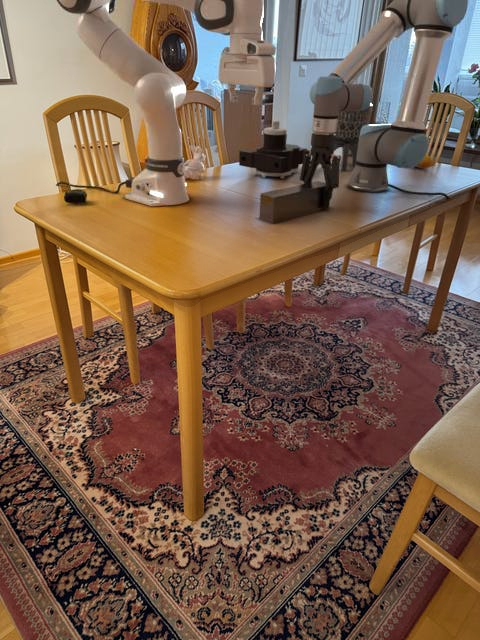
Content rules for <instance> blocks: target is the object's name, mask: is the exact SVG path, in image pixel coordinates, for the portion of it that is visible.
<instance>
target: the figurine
mask: <svg viewBox="0 0 480 640" xmlns="http://www.w3.org/2000/svg"><path fill="white" fill-rule="evenodd" d="M189 149H190V151H191V152H192V154H193V159H191V158H190V159H187V160H186V161H185V162H184V167H185V168H184V178H186V179H187V178H188V179H190V180H200V178H199V176H200V175H201V174H204V173H205V171H206V169H205V165H204V162H205V159H206V154H204V153H203V149H202V147H200V146H199V145H197V144H196V146H195V145H193V144H191V145H189Z"/></svg>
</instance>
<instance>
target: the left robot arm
mask: <svg viewBox="0 0 480 640" xmlns="http://www.w3.org/2000/svg"><path fill="white" fill-rule="evenodd" d="M140 1H143V2H147V3H155V4H162V5H163V4H164V5H171V6H175V7H178V8H182V9H183V10H185V11H188V12H190V13H192V14H194V17H195V20H196V22H197V24H198V25H199V26H200V27H201V28H202V29H204V31H205V30H206V31H207V32H210V33H215V34H221V35H223V36H229V46H226V47H224V48H223V49H222V51H221V53H220V58H219V64H218V81H219V84H222V85H227V87H226V88H227V91H228V93H229V102H231V103H238V102H239V95H237V93H236V89H237V86H245V87H254V92H255V93H254V96H253V97H251V105H252V106H260V104H261V97H262V95H263V94H264V92H265V91H264V89H265V88H272V87H273V86H274V84H275V80H276V60H275V57H274V56H275V55H276V51H277V49H276V45H274V44H272V43H270V42H269V41H266V40H265V39H263V38H264V37H263V33H264V32H263V26H262V23H263V20H264V19H263V18H264V15H265V14H264V13H265V12H264V10H265V7H264V5H265V2H264V1H265V0H140ZM116 2H117V0H56V3H58V5H59V7H61V8H62V9H63V10H64V11H66V12H67V13H69V14H73V15H79V16H78V19H77V21H76V31H77V34H78V36H79V38H80V39H81V41H82V42H83V43H84V45H85V46H86V47H87V48H88V49H89V50H90V52H91V53H92V54H93V55H94V56H95V57H96V58H97V59H98V60H99V61H101V63H102V64H103V65H105V67H107V68H108V69H109V70H110V71H111V72H112V73H113V74H114V75H116V76H117V77H118V78H119V79H120V80H121V81H123V82H125V83H127V84H129V85H130V86H132V87H133V88H134V91H133V92H134V93H133V94H134V99H135V101H136V103H137V105H138V107H139V108H140V111H141V114H142V115H141V116H142V118H143V122H144V126H145V131H146V137H147V149H148V157H146V158H144V159H142V164H145V167H144V169H143V170H142V171H141V172H140V173H138V174H137V175H136V176H135V177H130V178H128V179H125V181H122V182H120V183H119V184H118V186H117V189H116V190H115V191H112V190H109V189H108V188H105V187H102V186H98V185H97V186H96V185H80V184H79V185H78V184H73V183H68V182H66V181H59V182H57V183H56V184H55V186H56V187H58V186H59V185H65V186H69V187H71V188H77V189H97V190H102V191H104V192H107V193H111V194H118V193H120V190H121V187H122V186H123V185H125V188H129V189H131V191H129V192H128V193H126V194H125V196H124V198H125V199H126V200H128V201H129V200H130V201H132V202H135V203H139V204H143V205H147V206H149V207H160V206H175V205H182V204H184V203H187V202H189V200H190V197H189V194H188V191H187V182H186V180H185V177H184V168H185V167H184V164H185V158H184V156H183V155H184V154H183V135H182V130H181V128H180V125H179V121H178V116H177V111H176V109H177V108H179V107H181V105H182V104H183V103H184V101H185V99H186V96H187V86H186V83H185V82H184V80H183V79H182V77H180V76H179V75H177V74H176V73H175V72H174V71H172V70H171V69H170V68H169V67H167V66H166V65H165V64H164V63H162V61H160V60H159V59H157V58H156V57H155V56H153V55H152V54H150V53H149V52H147V50H145V49H144V48H143V47H142V46H141V45H140V44H139V43H138V42H136V40H135V39H133V38H132V37H131V36H130V35H129V34H128V33H127V32H126V31H125V30H124V29H123V28H122V27H121V26H119V25H118V23H116V22H115V21H114V19H113V18H112V17H111V16H110V14H112V13H114V11H115V9H116ZM69 184H70V185H69Z"/></svg>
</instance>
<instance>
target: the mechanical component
mask: <svg viewBox="0 0 480 640" xmlns="http://www.w3.org/2000/svg"><path fill="white" fill-rule="evenodd" d="M287 138H288V129H287V128H286V127H280V121H279V120H272V126H271V127H265V128H264V129H263V145H262V146H258V147H257V148H256V151H250V150H245V149H241V150H239V153H238V154H239V155H238V157H239V159H238V166H240V167H245V168H250V169H255V173H256V174H257V175H261V177H262V178H267V177H279V178H280V179H285V176H291V175H292V173H298V171H299V167H300V165H302V164H303V158H304V156H303V151H304V150H308V148H304V147H301V146H299V145H297V144H290V143H287Z"/></svg>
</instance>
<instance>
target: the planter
mask: <svg viewBox="0 0 480 640" xmlns="http://www.w3.org/2000/svg"><path fill="white" fill-rule="evenodd" d="M373 107H374V106H373V104H371V105H370V106H369V107H368V108H367V109H365V110H360V111H339V115H338V123H337V131H336V132H335V133H334V134H335V135H336V139H335V146H334V148H333V152H334V153H335V151H336V150H337V149H340V148H341V150H342V153H341V166H340V170H341V172H345V171H347V167H348V166H347V165H348V159H349V155H348V152H349V150H350V151H351V153H352V155H351V157H352V158H351V159H352V160H351V161H352V166H353V167H355V165H356V158H357V150H358V142H359V136H360V131H361V128H362V127H363V126H365V125H370V121H371V116H372V112H373ZM326 165H327V164H326Z"/></svg>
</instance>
